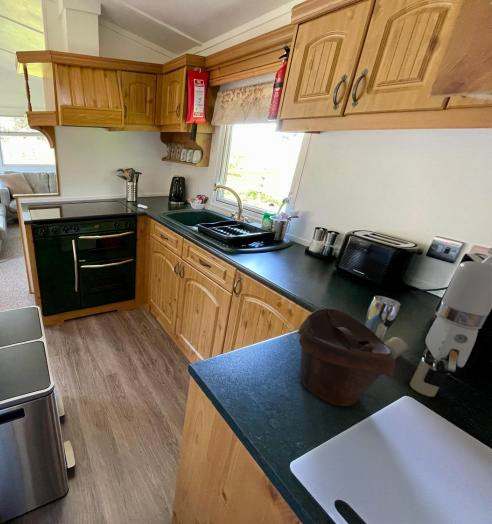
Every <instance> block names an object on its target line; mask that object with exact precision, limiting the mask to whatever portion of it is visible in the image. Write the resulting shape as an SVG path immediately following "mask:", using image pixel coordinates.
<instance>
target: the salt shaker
mask: <svg viewBox="0 0 492 524" xmlns="http://www.w3.org/2000/svg"><path fill="white" fill-rule="evenodd" d="M383 342H384V343H385V344H386V346H387V347H388V348H389V349H390V350H391V352H392V358H394V360H395V361H396V359H398V358H399V357H401V356H402V355H403V354H406V353H407V351H408V349H409V347H408V343H407V342H406V341H405V340H403V339H402V338H401V337H397V336H392V337H390V338H388V339H386V340H383Z"/></svg>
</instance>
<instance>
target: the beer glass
mask: <svg viewBox="0 0 492 524" xmlns="http://www.w3.org/2000/svg"><path fill="white" fill-rule="evenodd" d="M400 307H401V303H400V302H399V301H398V300H396V299H393V298H391V297H386V296H382V295H375V296H373V298H372V300H371V302H370V304H369V306H368V309H367V311H366V317H365V324H364V325H365V326H366V327H367V328H369V329H370V330H371V331H372V332H373V333H374V334H375V335H376V336H377V337H378V338H379V339H380V340H382V341H383V342H384V339H385V336H386V334H387V333H388V332H389V330H390V329H391V327H392V326H393V325H394V323H395V321H396V319H397V316H398V315H399V312H400Z"/></svg>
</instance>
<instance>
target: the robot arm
mask: <svg viewBox="0 0 492 524" xmlns="http://www.w3.org/2000/svg"><path fill="white" fill-rule="evenodd" d="M491 311H492V254H490V255H489V256H488V257H486V258H484V259H483V261H481V262H480V261H468V260H467V261H463V262H461V263H460V264H459V265H458V266H457V267H456V270H455V272H454V274H453V276H452V278H451V279H450V282H449V284H448V287H447V289H446V290H445V292H444V295H443V297H442V299H441V301H440V303H439V306H438V307H437V310H436V312H435V315H436V316H437V317H436V318H435V320H434V321H433V323H432V324H431V327H430V328H429V330H428V332H427V335H426V337H425V345H426V348H425V350H423V355H421V358H420V359H419V362H418V364H417V367H418V365H419V363H420V361H421V359H422V358H424V357H425V355H426V354H431V355H433V357H434V358H435V360H434V363H433V366H432V369H431V368H429V370H428V372H427V374H426V376H425V378H424V382H425V383H427V384H430V385H434V386H437V387H440V388H442V387H443V385H444V383H445V382H446V379H447V377H448V376H449V375H450V374H452V373H455V372H456V369H457V367H458V368H464V367H465V365H466V364H467V361H468V360H469V357H470V355H471V354H472V353H471V352H472V351H473V348H474V345H475V343H476V341H477V336H478V334H479V330H480V329H482V328H483V326H484V324H485V321H486V320H487V318H488V316H489V314H490V312H491ZM441 358H442V359H444V360H442V359H441ZM445 360H446V361H445ZM439 362H441V363H444V364H446V365H444V366H442V365H441V366H438V365H439ZM417 367H416V368H417Z"/></svg>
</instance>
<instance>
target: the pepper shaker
mask: <svg viewBox="0 0 492 524" xmlns="http://www.w3.org/2000/svg"><path fill="white" fill-rule="evenodd" d="M424 356H425V357H424V358H422V357H421V358H422V359H421V358H420V360H421V361H420V360H419V362H420V363H419V362H418V364H419V365H418V364H417V366H418V367H416V370H415V371H414V373H413V376H412V377H411V379H410V381H409V386H410V387H411V389H413V390H414V391H415V392H417V393H419V394H421V395H423V396H427V397H431V398H433V397H435V396H436V395H437V393H438V391H439V390H440V388H441V387H437V386H434V385H430V384H427V383H425V382H424V378H425V376H426V374H427V372H428V370H429V368H431V369H432V366H433V363H434V360H435V358H434V357H433V355H431V354H426V355H424ZM441 359H442V360H445V361H446V359H445V358H441ZM441 365H442V366H444V365H446V364H444V363H441V362H439V365H438V366H441Z"/></svg>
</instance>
